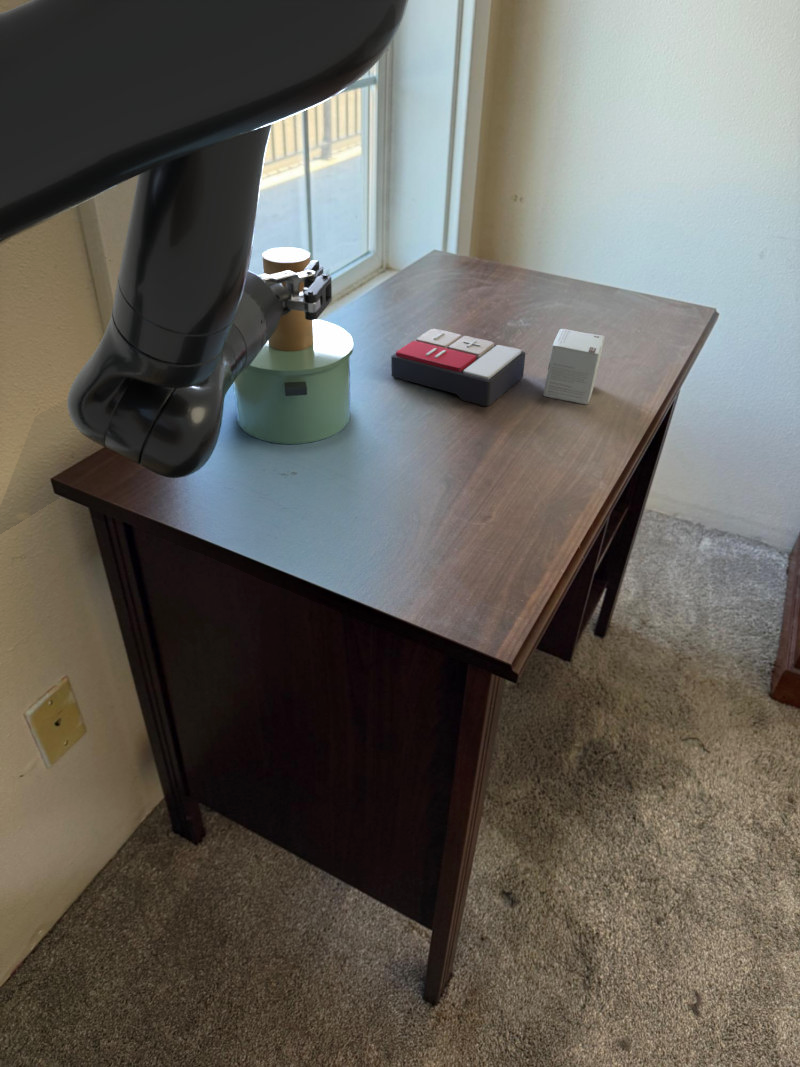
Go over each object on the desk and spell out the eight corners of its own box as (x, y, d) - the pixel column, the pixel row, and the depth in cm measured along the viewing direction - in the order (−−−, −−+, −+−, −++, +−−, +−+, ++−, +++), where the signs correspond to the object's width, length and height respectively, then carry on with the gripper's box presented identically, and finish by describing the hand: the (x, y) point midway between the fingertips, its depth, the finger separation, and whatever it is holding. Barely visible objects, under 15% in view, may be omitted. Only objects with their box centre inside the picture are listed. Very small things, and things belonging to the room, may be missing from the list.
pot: (234, 454, 85) (225, 377, 79) (232, 386, 98) (224, 316, 92) (362, 445, 88) (363, 370, 82) (344, 381, 100) (344, 312, 94)
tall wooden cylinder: (269, 352, 84) (262, 263, 78) (267, 333, 88) (261, 247, 82) (315, 350, 85) (312, 262, 79) (311, 332, 89) (308, 246, 83)
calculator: (431, 324, 107) (527, 346, 100) (430, 352, 110) (524, 376, 103) (389, 350, 100) (490, 376, 93) (390, 380, 102) (488, 407, 96)
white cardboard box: (550, 377, 103) (559, 327, 99) (594, 385, 102) (605, 334, 97) (542, 397, 99) (551, 344, 94) (588, 405, 97) (600, 353, 93)
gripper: (300, 291, 64) (342, 235, 76) (141, 276, 65) (208, 223, 78) (304, 372, 68) (342, 306, 81) (156, 356, 70) (216, 293, 82)
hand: (277, 265), depth 79 cm, fingers open, 8 cm apart
